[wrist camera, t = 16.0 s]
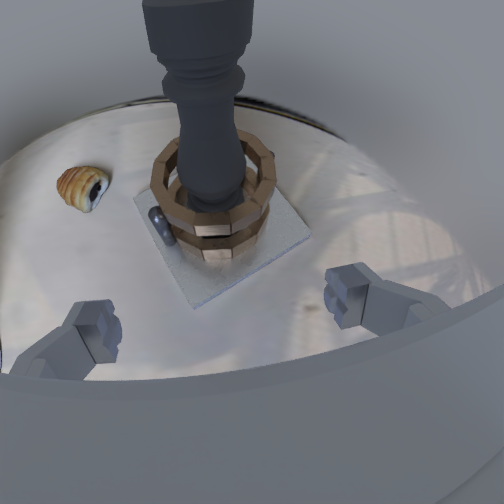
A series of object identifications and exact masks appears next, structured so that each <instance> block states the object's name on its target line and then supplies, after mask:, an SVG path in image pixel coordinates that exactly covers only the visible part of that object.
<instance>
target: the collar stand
mask: <svg viewBox="0 0 504 504" xmlns="http://www.w3.org/2000/svg"><path fill="white" fill-rule="evenodd" d="M236 130H237V133H238V136H239V140H240V143H241V146H242V149H243V152H244V155H245V158H246V161H247V164H246V172H245V177H244V179H243V181H242V182H241V184H240V186H241V188H242V191H243V196H244V199H245V202H244V203H242V204H240V205H238V206H236V207H234V208H233V209H231V210H229V211H227V212H210V213H196V212H194V211H192V210H190V209H188V207H187V201H188V199H187V194H188V191H187V190H186V189H185V187H184V186H183V185H182V184H181V183H180V181H179V178H178V173H177V174H175V175H173V176H171V177H169V175H170V173H171V172H172V171H173V169H174V168H175V167H176V166H177V157H178V147H179V137H180V136H179V137H177V138H175V139H173V141H171V142H170V143H169V144H168V145H167V146H166V147H165V149H164V150H163V151H162V152H161V153H160V155H159V156H158V157H157V158H156V159H155V162H154V164H153V170H152V176H151V183H150V188H149V189H148V190H146V191H144V192H142V193H141V194H139V195H137V196H136V197H134V198H133V200H134V202H135V204H136V206H137V208H138V210H139V212H140V214H141V216H142V218H143V220H144V222H145V224H146V226H147V228H148V230H149V232H150V234H151V236H152V238H153V240H154V241H155V243H156V245H157V247H158V249H159V251H160V253H161V255H162V256H163V258H164V260H165V262H166V264H167V265H168V267H169V269H170V271H171V273H172V274H173V276H174V278H175V280H176V281H177V283H178V285H179V287H180V288H181V290H182V292H183V293H184V295H185V297H186V298H187V300H188V302H189V303H190V305H191V307H192V308H193V309H194V310H195V309H197V308H198V307H200V306H202V305H203V304H205V303H206V302H208V301H210V300H211V299H213V298H215V297H216V296H218V295H219V294H221V293H223V292H224V291H226V290H227V289H229V288H231V287H232V286H234V285H236V284H237V283H239V282H240V281H242V280H244V279H245V278H247V277H248V276H250V275H251V274H253V273H255V272H256V271H258V270H259V269H261V268H263V267H264V266H266V265H267V264H269V263H271V262H272V261H274V260H275V259H277V258H278V257H280V256H282V255H283V254H285V253H286V252H288V251H289V250H291V249H292V248H294V247H296V246H297V245H299V244H300V243H302V242H303V241H305V240H307V239H308V238H309V237H310V236H311V234H312V232H311V230H310V229H309V228H308V227H307V225H306V224H305V223H304V222H303V220H302V219H301V218H300V216H299V215H298V214H297V213H296V211H295V210H294V209H293V208H292V206H291V205H290V204H289V203H288V201H287V200H286V199H285V198H284V197H283V195H282V194H281V193H280V192H279V190H278V189H277V188H276V187H275V186H276V182H277V178H276V171H275V164H274V157H275V155H274V153H273V152H271V151H269V150H268V149H267V148H266V147H265V146H264V145H263V144H262V143H261V141H260V140H259V139H258V138H257V137H256V136H255V137H254V135H252V134H249V133H246V132H244V131H241V130H238V129H236ZM230 232H231V233H232V234H233V233H234V234H233V235H231V234H230ZM235 232H236V233H235ZM213 235H231V236H230V237H228V238H216V239H207V238H206V237H204V236H213Z"/></svg>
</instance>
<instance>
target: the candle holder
mask: <svg viewBox="0 0 504 504" xmlns="http://www.w3.org/2000/svg"><path fill="white" fill-rule="evenodd" d="M142 7H143V13H144V19H145V24H146V30H147V35H148V40H149V45H150V50H151V52H152V53H154V54H155V55H157V60H158V62H159V63H161V64H163V65H164V66H165V67H166V70H167V71H168V73H167V74H166V75H165V77H164V79H163V80H162V86H163V92H164V95H165V96H166V97H167V98H168V99H169V100H171V101H172V102H173V103H176V104H177V108H178V113H179V118H180V124H181V128H180V137H179V147H178V157H177V172H178V178H179V181H180V183H181V184H182V185H183V186H184V187H185V189H186V190H187V191H188V194H187V199H188V201H187V207H188V209H190V210H192V211H194V212H196V213H210V212H227V211H229V210H231V209H233V208H234V207H236V206H238V205H240V204H242V203H244V202H245V199H244V196H243V191H242V188H241V186H240V184H241V182H242V181H243V179H244V177H245V172H246V164H247V161H246V158H245V155H244V152H243V149H242V146H241V143H240V140H239V136H238V133H237V130H236V127H235V124H234V96H235V95H236V94H237V93H238V92H240V91H241V90H242V88H243V84H244V80H245V73H244V72H243V70H242V68H241V67H240V66H239V65H237V61H238V59H239V58H240V57H241V56H242V55H243V54H244V51H245V48H246V45H247V44H248V43H249V42H250V39H251V36H252V21H253V7H254V0H143V1H142ZM235 233H236V232H235ZM230 234H231V235H233V234H234V233H233V234H232V233H231V232H230ZM231 235H213V236H204V237H206V238H207V239H216V238H228V237H230V236H231Z"/></svg>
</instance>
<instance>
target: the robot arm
mask: <svg viewBox="0 0 504 504" xmlns="http://www.w3.org/2000/svg"><path fill="white" fill-rule="evenodd" d="M325 280H326V281H327V283H328V284H327V286H326V287H325V289H324V301H325V305H326V308H327V309H328V311H329V312H330V313H333V314H335V315H334V320H335V321H336V323H337V324H338V326H339V327H340V329H341V330H342V329H346V328H351V327H355V326H359V325H361V326H362V327H364V328H366V329H367V330H369V331H371V332H373V333H374V334H376V335H378V336H379V337H376V338H373V339H370V340H367V341H364V342H360V343H357V344H354V345H350V346H347V347H343V348H339V349H336V350H332V351H328V352H324V353H320V354H316V355H312V356H308V357H304V358H300V359H295V360H291V361H286V362H281V363H276V364H271V365H266V366H260V367H255V368H249V369H243V370H237V371H230V372H223V373H216V374H208V375H199V376H190V377H179V378H167V379H152V380H129V381H84V378H85V377H86V376H87V375H88V374H89V373H90V371H91V370H92V369H93V368H94V367H95V366H96V364H103V363H115V362H116V358H117V354H118V351H119V350H118V348H117V345H118V344H119V343H120V342H121V339H122V327H121V323H120V321H119V318H118V317H116V316H115V315H114V314H113V313H114V310H115V308H114V306H113V303H112V301H111V300H109V299H105V300H93V301H81V302H76V303H74V305H73V306H72V308H71V310H70V312H69V313H68V315H67V317H66V319H65V320H64V322H63V324H62V326H60V327H57V328H56V329H54V330H53V331H51V332H50V333H49V334H47V335H46V336H44V337H43V338H42V339H40V340H39V341H38V342H36V343H35V344H34V345H32V346H31V347H30V348H28V349H27V350H26V351H24V352H23V353H22V354H20V355H19V356H18V357H17V359H16V361H15V363H14V365H13V367H12V369H11V370H10V372H9V374H6V373H0V504H504V284H503V285H500V286H498V287H497V288H494V289H493V290H491V291H489V292H487V293H485V294H483V295H481V296H479V297H477V298H475V299H473V300H471V301H468V302H466V303H464V304H462V305H460V306H458V307H455V308H453V309H451V308H450V307H449V306H448V305H447V304H446V303H445V302H444V301H442V300H441V299H440V298H439V297H438V296H436V295H433V294H430V293H427V292H423V291H420V290H417V289H414V288H411V287H408V286H404V285H401V284H398V283H395V282H392V281H388V280H384V281H383V280H382V279H381V278H380V277H379V276H378V275H377V274H376V273H375V272H373V271H372V270H371V269H370V268H369V267H368V266H367V265H366V264H364V263H363V262H359V263H354V264H350V265H345V266H340V267H335V268H330V269H327V270H326V273H325ZM0 367H1V352H0Z"/></svg>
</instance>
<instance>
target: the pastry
mask: <svg viewBox="0 0 504 504" xmlns="http://www.w3.org/2000/svg"><path fill="white" fill-rule="evenodd" d="M108 184H109V179H108V176H107V174H105V173H104V172H103V171H101V170H99V169H98V168H92V167H89V166H83V167H75V168H71V169H67V170H66V171H65V172H64V173H63V174H62V176H61V177H60V178H59V179H58V180H57V190H58V193H59V194H60V196H61V197H62V198H63V199H64V200H65V202H66V204H67V205H71V206H73V207H75V208H77V209H78V210H81V211H82V212H83V213H88V212H91V211H92V210H93V209H94V208H95V207H96V205H97V204H98V202H99V200H100V198H101V195H102V194H103V193H104V191H105V190H106V189H107V187H108Z"/></svg>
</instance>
